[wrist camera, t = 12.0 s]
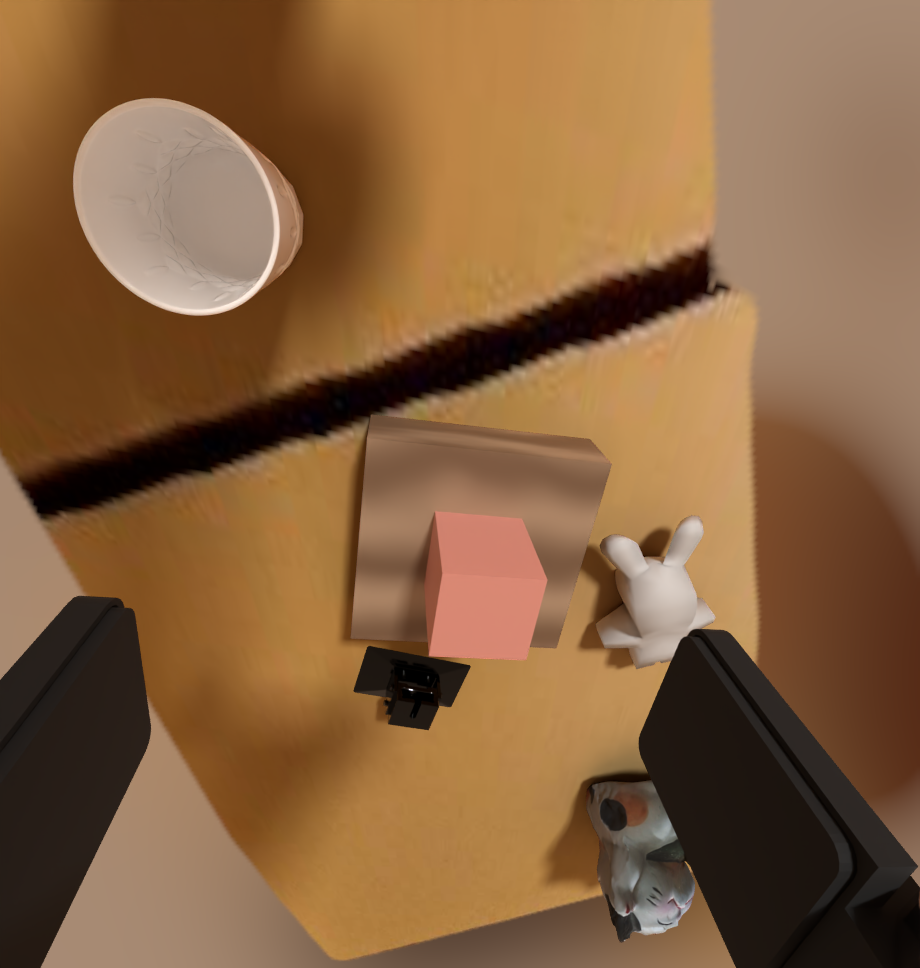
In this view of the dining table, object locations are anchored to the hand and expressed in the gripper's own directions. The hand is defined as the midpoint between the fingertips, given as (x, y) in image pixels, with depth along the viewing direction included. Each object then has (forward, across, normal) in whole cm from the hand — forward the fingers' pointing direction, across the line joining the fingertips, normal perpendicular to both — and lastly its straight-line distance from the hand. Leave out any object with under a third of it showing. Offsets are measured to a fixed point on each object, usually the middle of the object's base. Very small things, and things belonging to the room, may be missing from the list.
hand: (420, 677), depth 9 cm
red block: (+24, -6, +13) cm, 28 cm away
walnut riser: (+29, -6, +13) cm, 32 cm away
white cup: (+28, +10, -6) cm, 31 cm away
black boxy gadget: (+29, -4, +30) cm, 42 cm away
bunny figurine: (+29, -22, +17) cm, 40 cm away
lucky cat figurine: (+29, -30, +46) cm, 62 cm away
